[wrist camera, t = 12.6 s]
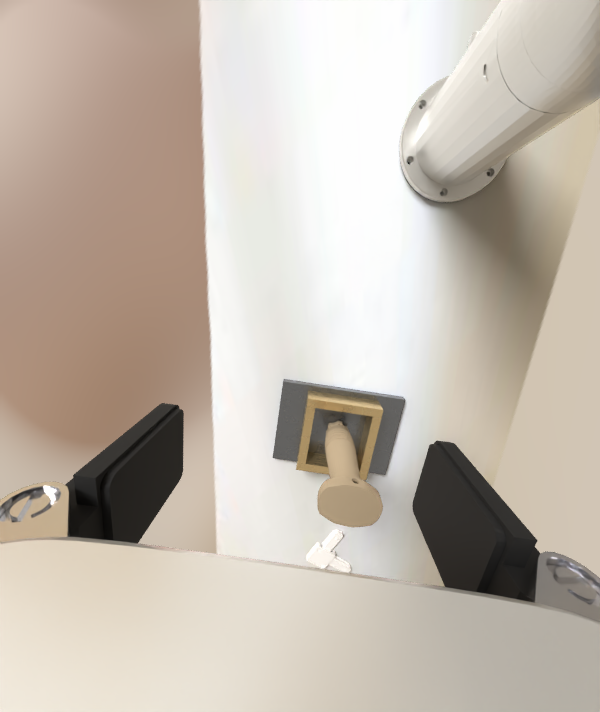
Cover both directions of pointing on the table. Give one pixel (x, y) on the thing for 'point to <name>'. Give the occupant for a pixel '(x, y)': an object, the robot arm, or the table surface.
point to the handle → (346, 483)
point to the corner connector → (328, 553)
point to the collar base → (328, 405)
